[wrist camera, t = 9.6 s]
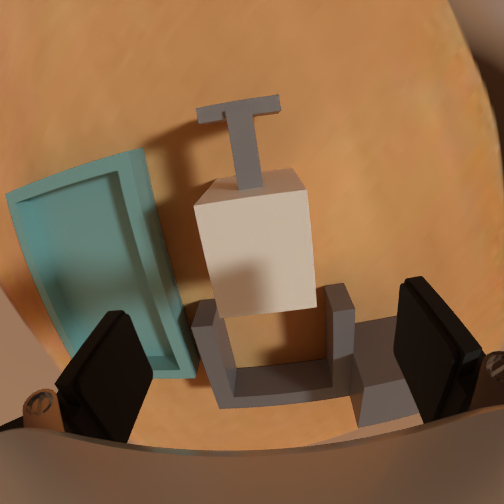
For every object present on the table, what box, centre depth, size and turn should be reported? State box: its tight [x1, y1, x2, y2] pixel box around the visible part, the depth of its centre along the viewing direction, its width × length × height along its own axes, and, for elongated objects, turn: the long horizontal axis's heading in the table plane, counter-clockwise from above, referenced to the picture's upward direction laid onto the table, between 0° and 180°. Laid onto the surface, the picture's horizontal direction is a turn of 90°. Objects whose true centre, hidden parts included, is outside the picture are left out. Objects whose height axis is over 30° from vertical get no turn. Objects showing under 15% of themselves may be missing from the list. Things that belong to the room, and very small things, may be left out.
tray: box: [5, 148, 200, 379], centre depth 22 cm, size 18×12×2 cm, turn 9°
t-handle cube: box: [194, 95, 317, 318], centre depth 17 cm, size 10×5×7 cm, turn 9°
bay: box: [191, 283, 419, 428], centre depth 21 cm, size 9×18×7 cm, turn 99°
